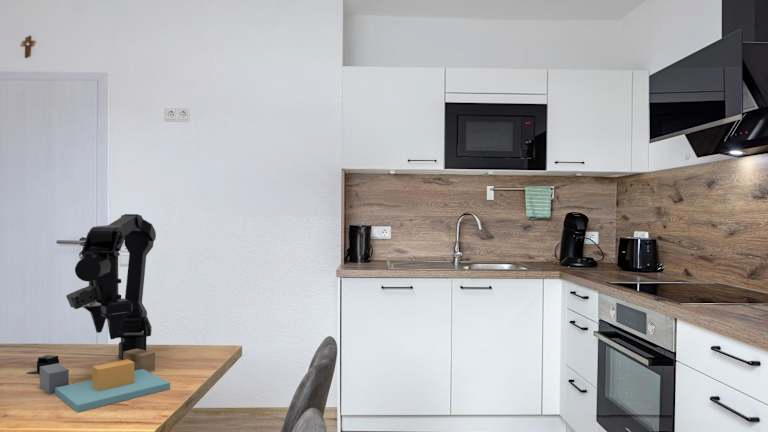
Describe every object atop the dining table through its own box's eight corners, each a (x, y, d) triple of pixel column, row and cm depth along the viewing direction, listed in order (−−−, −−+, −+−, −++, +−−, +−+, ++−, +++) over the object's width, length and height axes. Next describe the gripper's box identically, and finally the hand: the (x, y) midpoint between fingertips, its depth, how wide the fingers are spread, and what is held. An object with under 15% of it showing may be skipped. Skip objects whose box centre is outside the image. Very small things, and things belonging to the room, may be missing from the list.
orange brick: (127, 379, 123) (128, 359, 123) (134, 383, 120) (134, 362, 120) (92, 387, 117) (92, 366, 117) (97, 391, 114) (98, 369, 114)
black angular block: (16, 375, 131) (17, 358, 131) (41, 367, 138) (41, 351, 138) (56, 379, 129) (56, 361, 129) (78, 371, 136) (79, 354, 136)
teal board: (142, 374, 131) (142, 368, 131) (170, 388, 121) (170, 382, 121) (55, 394, 116) (55, 387, 116) (77, 412, 106) (77, 405, 106)
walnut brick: (123, 370, 136) (123, 351, 136) (136, 366, 139) (136, 348, 139) (141, 374, 132) (141, 355, 132) (154, 370, 135) (155, 352, 135)
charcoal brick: (39, 387, 122) (39, 366, 122) (58, 383, 125) (58, 363, 125) (48, 395, 116) (49, 373, 116) (68, 390, 119) (68, 369, 119)
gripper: (57, 274, 127) (58, 335, 128) (84, 283, 115) (84, 349, 116) (104, 270, 136) (104, 327, 136) (133, 278, 124) (133, 340, 124)
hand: (105, 335), depth 128 cm, fingers open, 9 cm apart
